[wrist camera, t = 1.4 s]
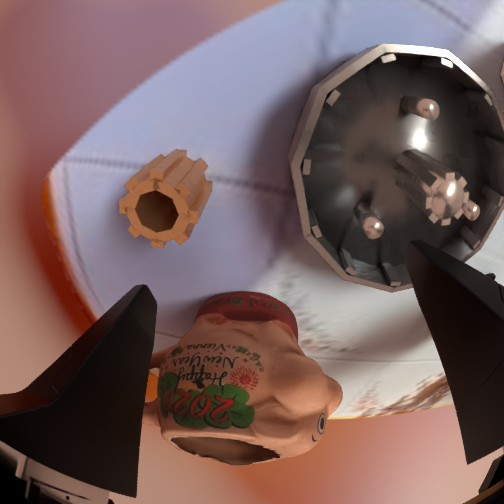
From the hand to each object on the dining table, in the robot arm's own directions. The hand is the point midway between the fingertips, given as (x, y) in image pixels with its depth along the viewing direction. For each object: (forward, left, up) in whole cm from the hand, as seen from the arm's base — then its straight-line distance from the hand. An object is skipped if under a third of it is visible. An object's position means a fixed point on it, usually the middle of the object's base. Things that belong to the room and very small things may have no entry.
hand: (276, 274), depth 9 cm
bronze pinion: (0, +7, -12) cm, 14 cm away
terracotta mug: (-15, +7, -12) cm, 21 cm away
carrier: (-2, -10, -12) cm, 16 cm away
